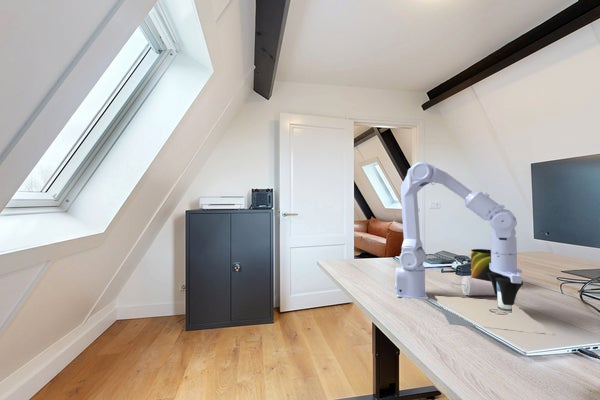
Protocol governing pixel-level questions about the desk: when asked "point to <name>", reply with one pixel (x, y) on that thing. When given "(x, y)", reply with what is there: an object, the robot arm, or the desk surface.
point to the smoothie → (476, 286)
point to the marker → (500, 304)
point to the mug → (480, 264)
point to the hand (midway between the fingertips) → (504, 301)
